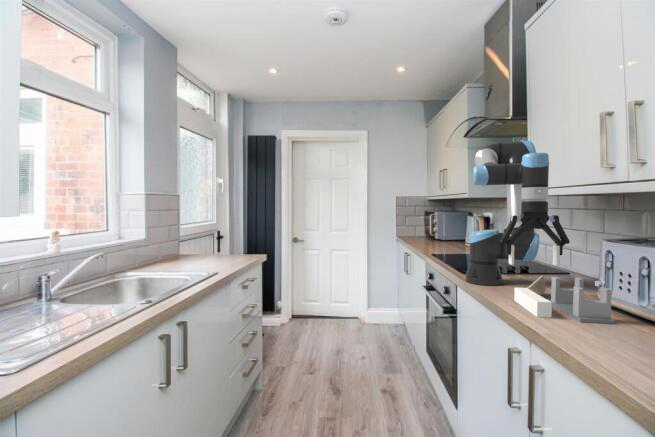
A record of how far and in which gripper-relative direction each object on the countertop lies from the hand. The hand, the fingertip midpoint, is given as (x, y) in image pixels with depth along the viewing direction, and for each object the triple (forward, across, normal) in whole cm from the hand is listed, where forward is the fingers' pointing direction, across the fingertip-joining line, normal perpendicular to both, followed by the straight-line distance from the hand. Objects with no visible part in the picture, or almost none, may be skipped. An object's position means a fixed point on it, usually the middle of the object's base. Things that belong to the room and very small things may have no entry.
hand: (533, 264), depth 110 cm
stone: (+15, +6, +17) cm, 24 cm away
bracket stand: (+15, +13, -2) cm, 19 cm away
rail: (+15, 0, 0) cm, 15 cm away
